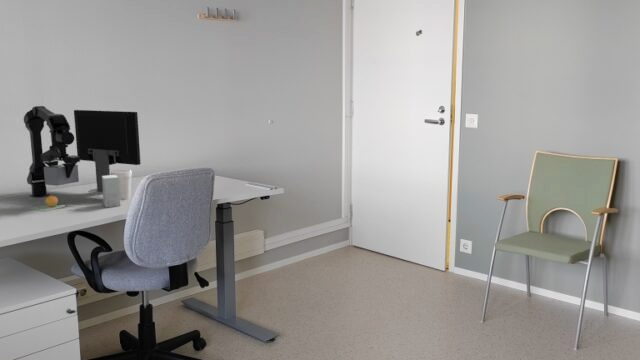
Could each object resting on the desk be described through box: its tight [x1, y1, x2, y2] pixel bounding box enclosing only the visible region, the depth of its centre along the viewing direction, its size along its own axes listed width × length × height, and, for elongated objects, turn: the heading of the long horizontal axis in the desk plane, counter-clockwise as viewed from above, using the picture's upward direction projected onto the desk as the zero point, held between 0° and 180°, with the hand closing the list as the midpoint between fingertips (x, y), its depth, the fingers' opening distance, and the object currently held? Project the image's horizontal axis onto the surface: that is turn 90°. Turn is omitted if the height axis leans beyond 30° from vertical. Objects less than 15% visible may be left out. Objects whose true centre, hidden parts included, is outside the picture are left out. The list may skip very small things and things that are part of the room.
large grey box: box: [44, 163, 80, 187], centre depth 274 cm, size 8×12×8 cm, turn 155°
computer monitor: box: [73, 109, 142, 194], centre depth 299 cm, size 41×8×40 cm, turn 63°
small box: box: [102, 174, 121, 208], centre depth 272 cm, size 8×6×13 cm
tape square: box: [30, 204, 66, 212], centre depth 269 cm, size 10×10×1 cm
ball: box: [45, 195, 59, 207], centre depth 270 cm, size 5×5×5 cm
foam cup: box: [110, 169, 133, 201], centre depth 286 cm, size 10×9×13 cm
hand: (61, 177), depth 274 cm, fingers closed on large grey box, 8 cm apart
